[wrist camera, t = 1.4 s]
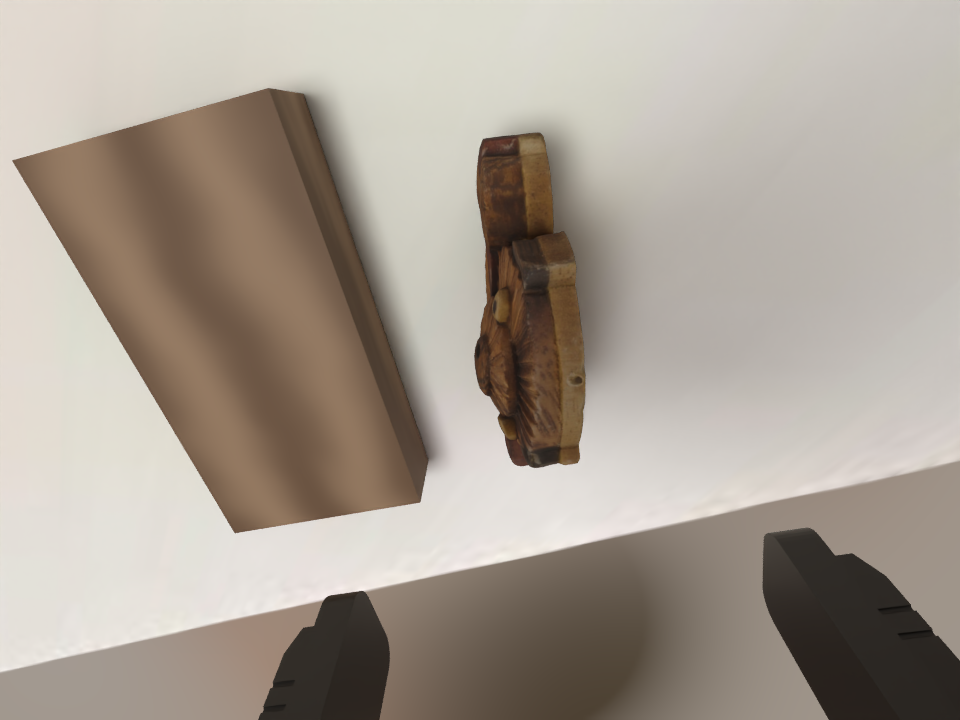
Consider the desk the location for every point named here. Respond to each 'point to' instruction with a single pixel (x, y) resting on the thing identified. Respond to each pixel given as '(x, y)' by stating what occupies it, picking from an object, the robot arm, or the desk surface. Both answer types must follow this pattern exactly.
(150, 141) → the walnut plinth
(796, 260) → the desk surface
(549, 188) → the wooden carving
